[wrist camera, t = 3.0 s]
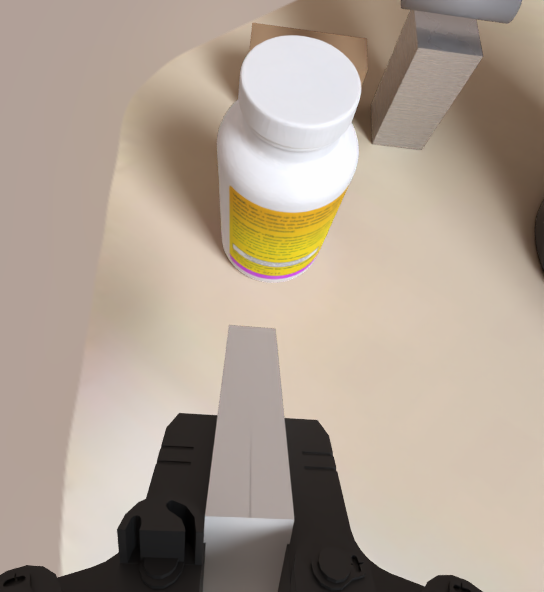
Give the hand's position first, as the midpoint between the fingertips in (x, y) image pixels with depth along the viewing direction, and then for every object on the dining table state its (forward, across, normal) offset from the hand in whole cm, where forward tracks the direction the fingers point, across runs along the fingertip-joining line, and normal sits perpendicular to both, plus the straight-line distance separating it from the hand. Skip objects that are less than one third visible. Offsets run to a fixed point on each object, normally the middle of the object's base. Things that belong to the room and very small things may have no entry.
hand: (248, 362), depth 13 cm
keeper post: (+23, +11, +8) cm, 27 cm away
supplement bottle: (+15, +1, 0) cm, 15 cm away
